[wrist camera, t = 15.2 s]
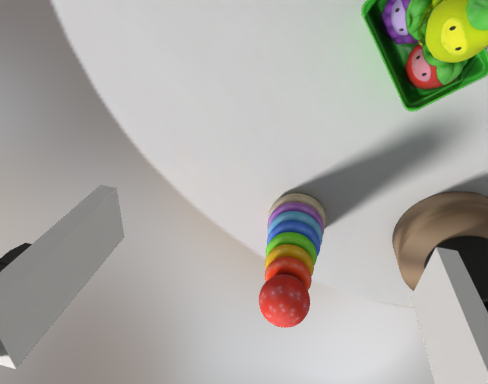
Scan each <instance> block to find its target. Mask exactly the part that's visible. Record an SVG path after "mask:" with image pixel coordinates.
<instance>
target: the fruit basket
mask: <svg viewBox="0 0 488 384" xmlns="http://www.w3.org/2000/svg"><path fill="white" fill-rule="evenodd" d="M362 17H363V19H364V21H365V23H366V25H367V27H368V29H369V31H370V33H371V35H372V37H373V39H374V42H375V44H376V46H377V48H378V50H379V53H380V55H381V57H382V59H383V61H384V64H385V66H386V68H387V70H388V73H389V75H390V77H391V79H392V81H393V83H394V85H395V88H396V90H397V92H398V94H399V97H400V99H401V101H402V103H403V106H404V107H405V109H406V110H408V111H417V110H419V109H421V108H423V107H425V106H427V105H429V104H431V103H433V102H435V101H437V100H439V99H441V98H443V97H445V96H447V95H449V94H451V93H453V92H455V91H457V90H459V89H461V88H464V87H466V86H468V85H470V84H472V83H474V82H476V81H478V80H480V79H482V78H484V77H486V76H487V75H488V53H487V51H486V47H487V46H488V0H367V1H366V2H365V3H364V4H363V7H362Z"/></svg>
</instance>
